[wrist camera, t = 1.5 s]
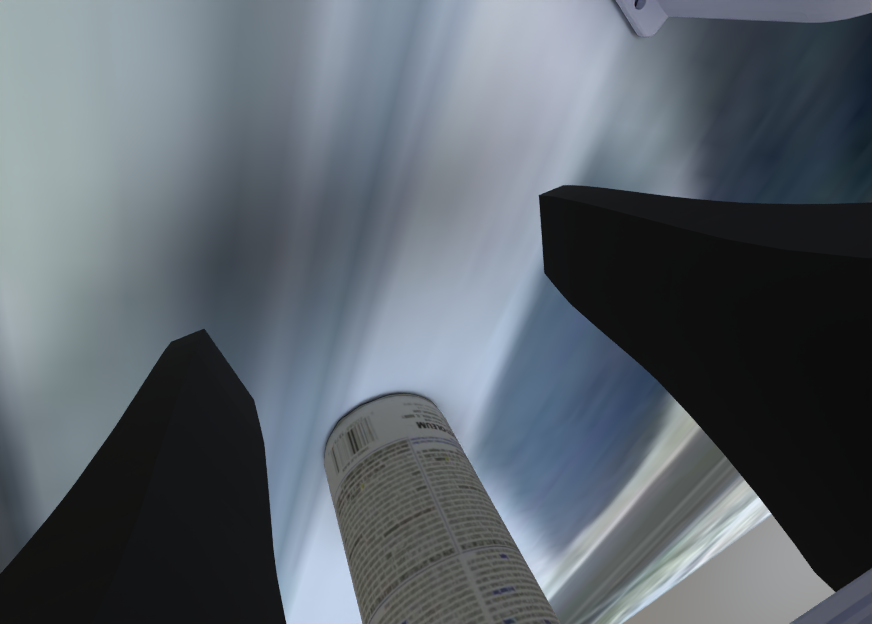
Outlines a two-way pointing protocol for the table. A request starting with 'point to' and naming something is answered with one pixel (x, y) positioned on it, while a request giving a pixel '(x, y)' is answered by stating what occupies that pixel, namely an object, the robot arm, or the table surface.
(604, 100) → the table surface
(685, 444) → the table surface
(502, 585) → the spray can
